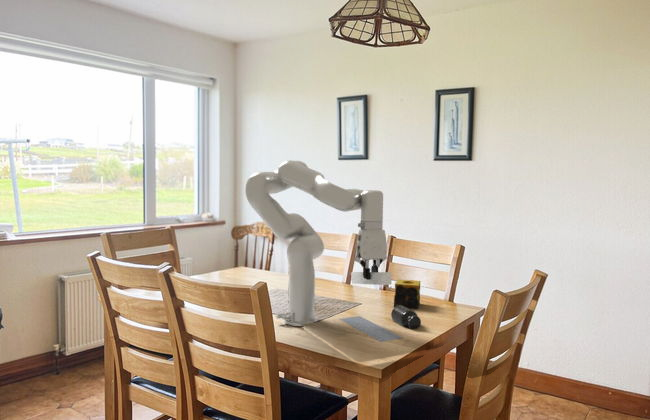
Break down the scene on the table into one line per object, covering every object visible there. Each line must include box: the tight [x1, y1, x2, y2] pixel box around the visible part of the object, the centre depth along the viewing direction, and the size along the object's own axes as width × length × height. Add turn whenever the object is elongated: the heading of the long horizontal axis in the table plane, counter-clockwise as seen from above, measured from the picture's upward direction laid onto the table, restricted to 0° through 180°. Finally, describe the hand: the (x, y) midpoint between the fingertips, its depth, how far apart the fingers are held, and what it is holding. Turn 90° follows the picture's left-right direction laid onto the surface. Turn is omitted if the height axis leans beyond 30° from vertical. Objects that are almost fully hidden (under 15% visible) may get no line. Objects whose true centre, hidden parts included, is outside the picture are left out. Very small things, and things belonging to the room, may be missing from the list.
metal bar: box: [350, 271, 393, 286], centre depth 182 cm, size 2×22×4 cm, turn 27°
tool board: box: [339, 315, 404, 343], centre depth 183 cm, size 9×28×1 cm, turn 27°
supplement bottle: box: [390, 305, 422, 330], centre depth 188 cm, size 7×7×12 cm
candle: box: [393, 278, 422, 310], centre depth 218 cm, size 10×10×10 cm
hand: (370, 278), depth 182 cm, fingers closed on metal bar, 2 cm apart
